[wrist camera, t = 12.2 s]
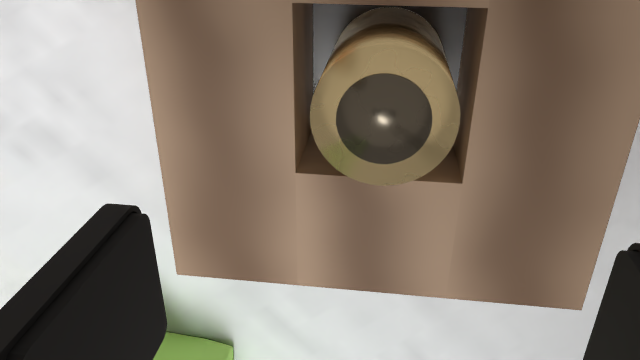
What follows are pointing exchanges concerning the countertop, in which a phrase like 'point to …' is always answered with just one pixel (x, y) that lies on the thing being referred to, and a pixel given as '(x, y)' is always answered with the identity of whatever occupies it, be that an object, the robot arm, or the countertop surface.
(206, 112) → the block
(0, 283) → the countertop surface
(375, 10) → the bushing
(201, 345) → the gearbox
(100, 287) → the robot arm
